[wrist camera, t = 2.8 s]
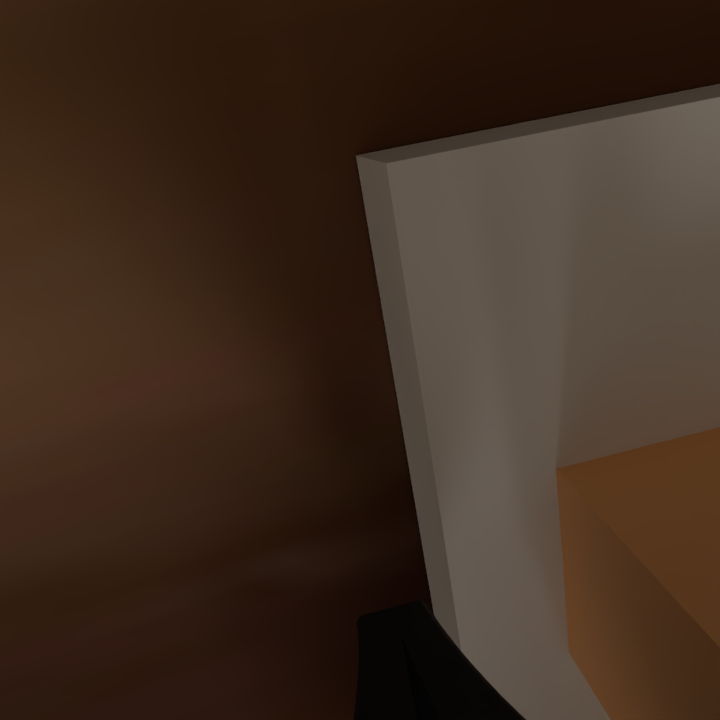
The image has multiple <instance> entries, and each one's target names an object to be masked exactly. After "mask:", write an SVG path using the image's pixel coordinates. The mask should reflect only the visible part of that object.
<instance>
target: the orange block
mask: <svg viewBox="0 0 720 720" xmlns="http://www.w3.org/2000/svg"><path fill="white" fill-rule="evenodd" d="M556 475H557V489H558V503H559V517H560V531H561V545H562V559H563V573H564V587H565V600H566V614H567V628H568V642H569V653H570V655H571V657H572V658H573V660H574V661H575V663H576V665H577V666H578V668H579V669H580V671H581V673H582V674H583V676H584V678H585V679H586V681H587V682H588V684H589V686H590V687H591V689H592V690H593V692H594V694H595V695H596V697H597V698H598V700H599V702H600V703H601V705H602V707H603V708H604V710H605V711H606V713H607V715H608V716H609V718H610V719H611V720H720V427H718V428H714V429H710V430H706V431H703V432H699V433H695V434H691V435H687V436H683V437H679V438H675V439H671V440H667V441H663V442H659V443H655V444H651V445H647V446H643V447H640V448H636V449H632V450H628V451H624V452H620V453H616V454H612V455H608V456H604V457H600V458H596V459H592V460H588V461H584V462H581V463H577V464H573V465H569V466H565V467H561V468H557V469H556Z"/></svg>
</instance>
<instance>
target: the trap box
mask: <svg viewBox="0 0 720 720" xmlns="http://www.w3.org/2000/svg"><path fill="white" fill-rule="evenodd" d="M356 159H357V165H358V171H359V177H360V183H361V189H362V195H363V201H364V206H365V212H366V218H367V224H368V230H369V236H370V242H371V248H372V254H373V259H374V265H375V271H376V277H377V283H378V289H379V295H380V301H381V306H382V312H383V318H384V324H385V330H386V336H387V342H388V348H389V353H390V359H391V365H392V371H393V377H394V383H395V389H396V395H397V400H398V406H399V412H400V418H401V424H402V430H403V436H404V442H405V447H406V453H407V459H408V465H409V471H410V477H411V483H412V489H413V494H414V500H415V506H416V512H417V518H418V524H419V530H420V536H421V541H422V547H423V553H424V559H425V565H426V571H427V577H428V583H429V588H430V594H431V600H432V606H433V612H434V616H435V617H436V619H437V620H438V622H439V623H440V625H441V626H442V627H443V629H444V630H445V631H446V633H447V634H448V635H449V637H450V638H451V639H452V640H453V642H454V643H455V644H456V645H457V647H458V648H459V649H460V650H461V652H462V653H463V654H464V655H465V656H466V657H467V659H468V660H469V661H470V662H471V663H472V664H473V665H474V666H475V668H476V669H477V670H478V671H479V672H480V673H481V674H482V675H483V677H484V678H485V679H486V680H487V681H488V682H489V683H490V684H491V685H492V686H493V687H494V688H495V689H496V690H497V691H498V693H499V694H500V695H501V696H502V697H503V698H504V699H505V700H506V701H507V702H508V703H510V704H511V705H512V706H513V707H514V708H515V709H516V710H517V711H518V712H519V713H520V714H521V715H522V716H523V717H524V718H525V719H526V720H611V719H610V718H609V716H608V715H607V713H606V711H605V710H604V708H603V707H602V705H601V703H600V702H599V700H598V698H597V697H596V695H595V694H594V692H593V690H592V689H591V687H590V686H589V684H588V682H587V681H586V679H585V678H584V676H583V674H582V673H581V671H580V669H579V668H578V666H577V665H576V663H575V661H574V660H573V658H572V657H571V655H570V653H569V642H568V628H567V614H566V600H565V587H564V573H563V559H562V545H561V531H560V517H559V503H558V489H557V475H556V469H557V468H561V467H565V466H569V465H573V464H577V463H581V462H584V461H588V460H592V459H596V458H600V457H604V456H608V455H612V454H616V453H620V452H624V451H628V450H632V449H636V448H640V447H643V446H647V445H651V444H655V443H659V442H663V441H667V440H671V439H675V438H679V437H683V436H687V435H691V434H695V433H699V432H703V431H706V430H710V429H714V428H718V427H720V84H715V85H710V86H705V87H700V88H695V89H690V90H685V91H680V92H675V93H670V94H665V95H660V96H655V97H649V98H644V99H639V100H634V101H629V102H624V103H619V104H614V105H609V106H604V107H599V108H594V109H589V110H584V111H579V112H573V113H568V114H563V115H558V116H553V117H548V118H543V119H538V120H533V121H528V122H523V123H518V124H513V125H508V126H502V127H497V128H492V129H487V130H482V131H477V132H472V133H467V134H462V135H457V136H452V137H447V138H442V139H437V140H432V141H426V142H421V143H416V144H411V145H406V146H401V147H396V148H391V149H386V150H381V151H376V152H371V153H366V154H361V155H356Z"/></svg>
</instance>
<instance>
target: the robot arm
mask: <svg viewBox="0 0 720 720" xmlns="http://www.w3.org/2000/svg"><path fill="white" fill-rule="evenodd" d="M357 627H358V635H359V672H358V685H357V695H356V705H355V714H354V720H526V719H525V718H524V717H523V716H522V715H521V714H520V713H519V712H518V711H517V710H516V709H515V708H514V707H513V706H512V705H511V704H510V703H508V702H507V701H506V700H505V699H504V698H503V697H502V696H501V695H500V694H499V693H498V691H497V690H496V689H495V688H494V687H493V686H492V685H491V684H490V683H489V682H488V681H487V680H486V679H485V678H484V677H483V675H482V674H481V673H480V672H479V671H478V670H477V669H476V668H475V666H474V665H473V664H472V663H471V662H470V661H469V660H468V659H467V657H466V656H465V655H464V654H463V653H462V652H461V650H460V649H459V648H458V647H457V645H456V644H455V643H454V642H453V640H452V639H451V638H450V637H449V635H448V634H447V633H446V631H445V630H444V629H443V627H442V626H441V625H440V623H439V622H438V620H437V619H436V617H435V616H434V614H433V613H432V611H431V610H430V608H429V606H428V605H427V603H426V602H424V601H422V600H418V601H414V602H411V603H407V604H403V605H400V606H396V607H392V608H389V609H385V610H381V611H377V612H374V613H370V614H366V615H363V616H361V617H360V618H359V619H358V621H357Z"/></svg>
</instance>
